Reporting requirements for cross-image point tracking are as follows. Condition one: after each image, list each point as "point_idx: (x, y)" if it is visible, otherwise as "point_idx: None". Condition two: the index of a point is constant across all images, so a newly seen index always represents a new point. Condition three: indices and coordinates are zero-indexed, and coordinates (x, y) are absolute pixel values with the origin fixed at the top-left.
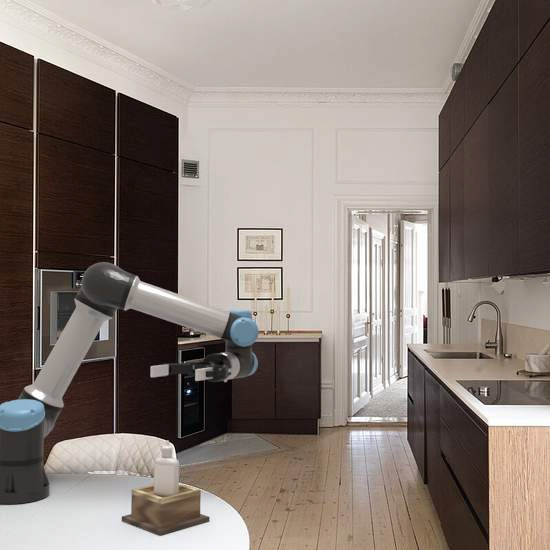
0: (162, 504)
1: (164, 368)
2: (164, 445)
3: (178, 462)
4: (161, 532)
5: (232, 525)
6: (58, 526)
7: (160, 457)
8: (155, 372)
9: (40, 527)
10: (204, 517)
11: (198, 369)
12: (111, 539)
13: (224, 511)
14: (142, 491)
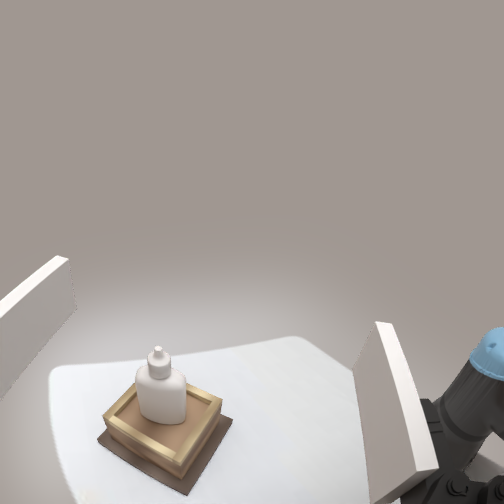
0: None
1: (392, 436)
2: (164, 354)
3: (135, 377)
4: None
5: (63, 427)
6: (295, 385)
7: (173, 372)
8: (365, 368)
9: (311, 377)
10: (104, 435)
11: (53, 260)
12: (206, 366)
13: (84, 490)
14: (199, 394)
